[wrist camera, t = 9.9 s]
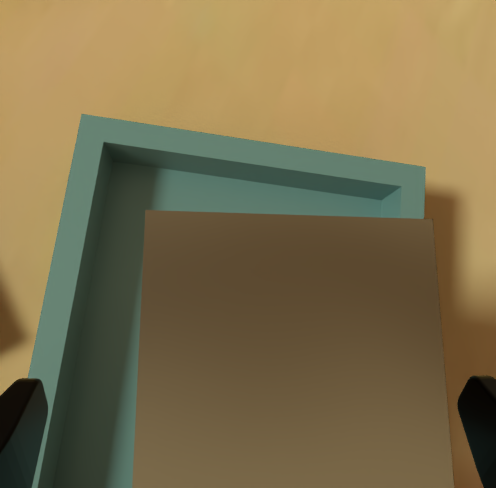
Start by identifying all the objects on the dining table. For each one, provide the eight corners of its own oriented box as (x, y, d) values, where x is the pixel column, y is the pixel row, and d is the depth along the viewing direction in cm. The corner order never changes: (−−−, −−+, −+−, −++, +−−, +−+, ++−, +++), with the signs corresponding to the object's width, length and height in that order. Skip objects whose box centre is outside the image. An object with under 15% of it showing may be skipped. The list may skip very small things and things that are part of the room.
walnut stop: (286, 399, 18) (457, 531, 6) (174, 401, 17) (129, 547, 6) (284, 288, 19) (432, 218, 7) (177, 286, 18) (145, 210, 7)
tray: (377, 560, 18) (411, 605, 15) (23, 536, 17) (-14, 579, 14) (394, 189, 21) (425, 167, 18) (98, 145, 20) (81, 114, 17)
